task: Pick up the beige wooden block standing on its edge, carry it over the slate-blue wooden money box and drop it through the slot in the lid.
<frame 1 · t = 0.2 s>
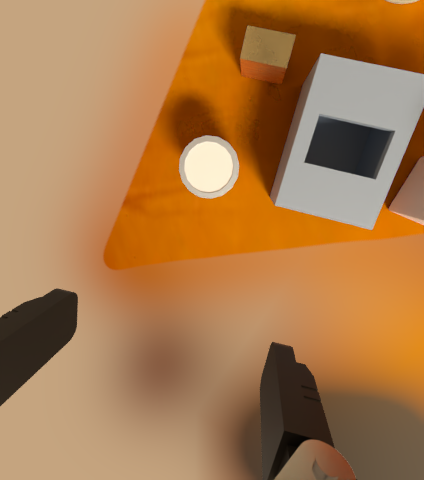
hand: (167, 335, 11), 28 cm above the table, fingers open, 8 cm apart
white cup: (216, 168, 37), on the table
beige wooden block: (264, 66, 32), on the table
coin box: (323, 152, 34), on the table
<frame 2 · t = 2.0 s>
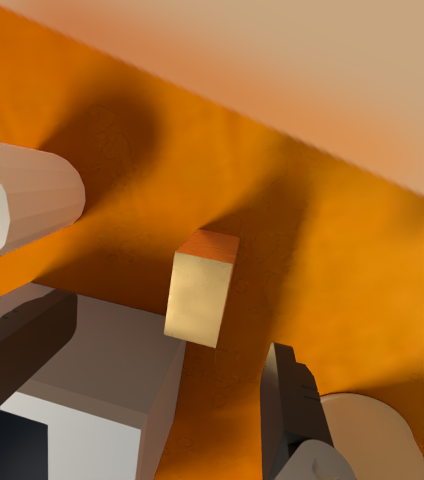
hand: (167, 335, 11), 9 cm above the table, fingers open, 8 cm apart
white cup: (53, 191, 20), on the table
can: (346, 437, 21), on the table
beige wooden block: (213, 265, 19), on the table
coin box: (103, 352, 23), on the table
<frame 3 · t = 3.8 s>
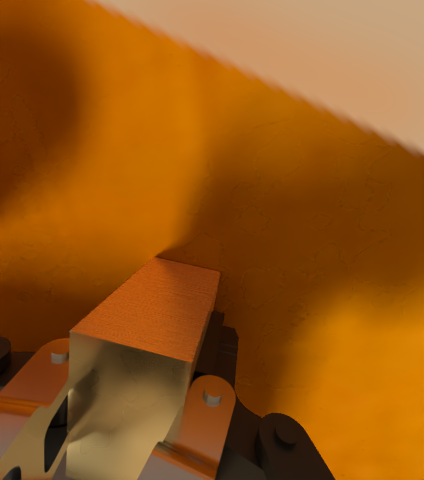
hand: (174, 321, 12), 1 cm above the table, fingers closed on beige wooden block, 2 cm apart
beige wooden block: (178, 314, 12), on the table, touching gripper
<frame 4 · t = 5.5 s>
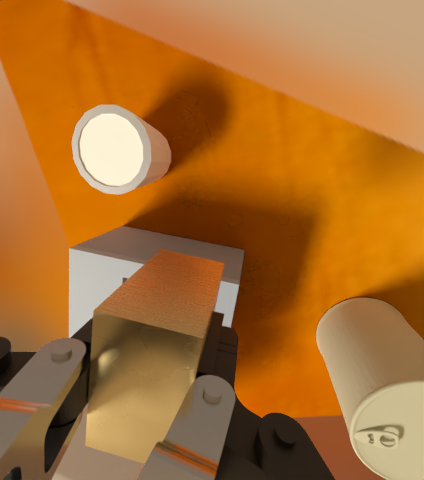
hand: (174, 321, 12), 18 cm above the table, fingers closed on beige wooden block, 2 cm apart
white cup: (146, 155, 28), on the table
can: (359, 334, 29), on the table
milk carton: (150, 370, 35), on the table
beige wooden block: (184, 303, 13), point 16 cm above the table, touching gripper
coin box: (176, 278, 31), on the table
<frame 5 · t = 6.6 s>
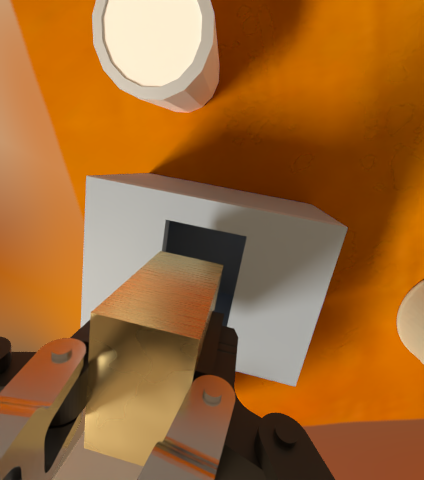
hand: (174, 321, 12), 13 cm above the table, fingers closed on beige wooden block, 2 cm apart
white cup: (184, 74, 21), on the table
milk carton: (175, 362, 28), on the table
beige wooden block: (183, 305, 13), point 11 cm above the table, touching gripper
coin box: (217, 243, 24), on the table
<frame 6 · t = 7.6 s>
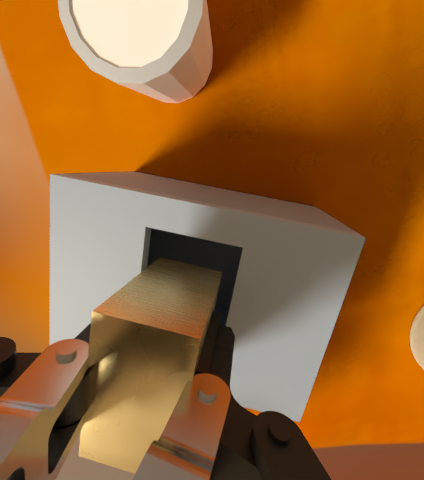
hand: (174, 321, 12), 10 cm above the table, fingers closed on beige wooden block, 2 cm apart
white cup: (173, 59, 18), on the table
milk carton: (165, 379, 26), on the table
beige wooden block: (182, 312, 13), point 9 cm above the table, touching gripper
coin box: (210, 250, 21), on the table
when the fingers open (10 cm above the table, at t = 7.6 s): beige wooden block drops 8 cm, resting on coin box.
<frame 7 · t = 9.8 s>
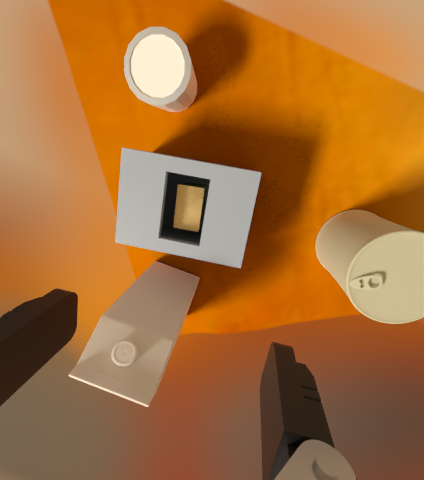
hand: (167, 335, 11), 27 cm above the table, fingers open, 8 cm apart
white cup: (175, 87, 33), on the table
can: (351, 243, 35), on the table
milk carton: (171, 288, 40), on the table
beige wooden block: (197, 202, 35), point 1 cm above the table, touching coin box
coin box: (198, 199, 36), on the table
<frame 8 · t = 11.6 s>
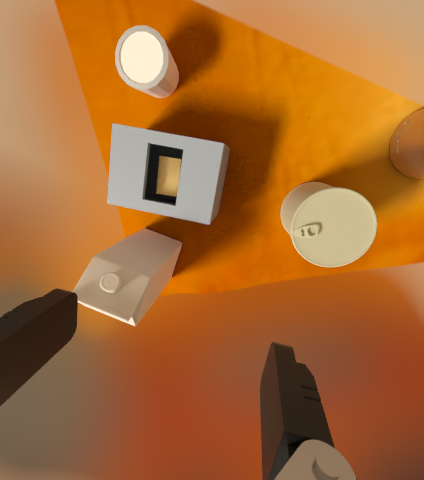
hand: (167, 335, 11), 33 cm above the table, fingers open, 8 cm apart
white cup: (160, 77, 39), on the table
can: (311, 212, 41), on the table
milk carton: (158, 252, 46), on the table
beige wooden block: (179, 175, 41), point 1 cm above the table, touching coin box
coin box: (180, 173, 42), on the table
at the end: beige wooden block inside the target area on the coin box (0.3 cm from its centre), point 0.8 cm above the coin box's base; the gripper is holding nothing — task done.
